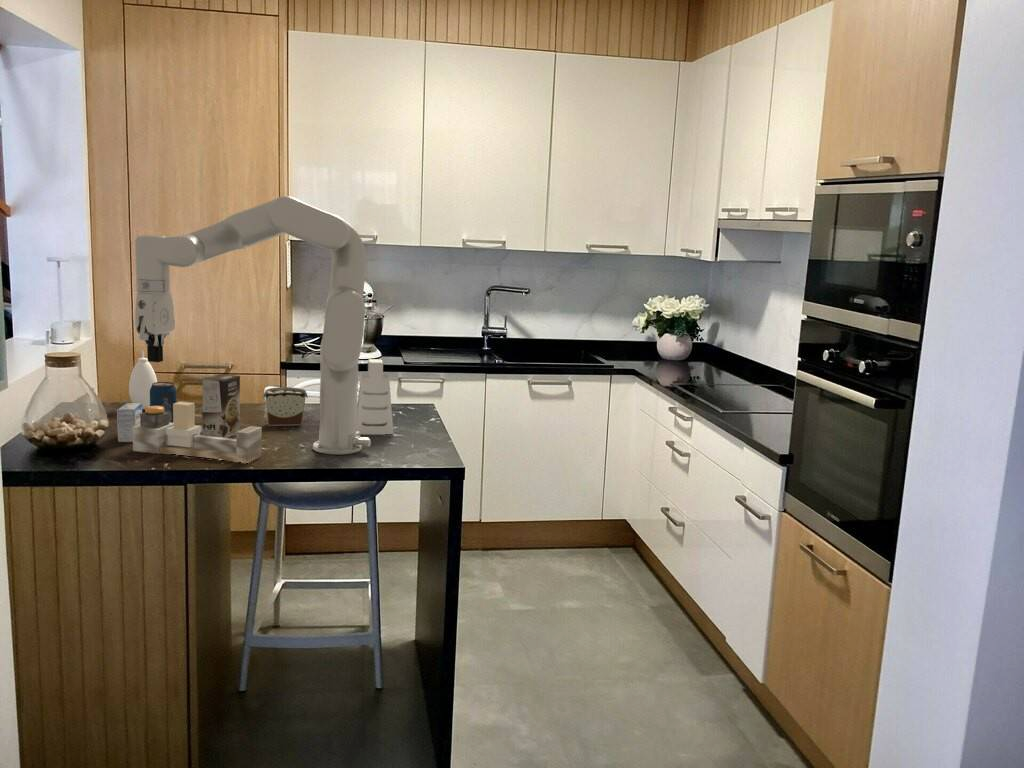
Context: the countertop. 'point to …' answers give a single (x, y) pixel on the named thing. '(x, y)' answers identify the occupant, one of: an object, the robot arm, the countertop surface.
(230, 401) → the coffee box
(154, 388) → the soda can
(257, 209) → the robot arm
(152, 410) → the button
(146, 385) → the sauce bottle
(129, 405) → the medicine box
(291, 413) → the food container
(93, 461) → the countertop surface
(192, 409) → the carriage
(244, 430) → the slide rail
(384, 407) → the grater
